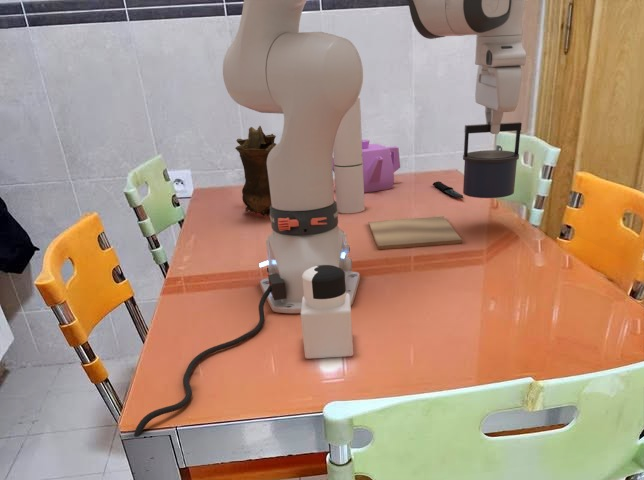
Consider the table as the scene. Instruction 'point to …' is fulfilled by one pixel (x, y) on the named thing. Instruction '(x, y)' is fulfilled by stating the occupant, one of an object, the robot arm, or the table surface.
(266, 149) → the pottery vessel
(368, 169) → the teakettle
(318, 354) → the medicine bottle
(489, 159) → the pot
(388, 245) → the cutting board
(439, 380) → the table surface
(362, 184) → the cylindrical container
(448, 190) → the knife
